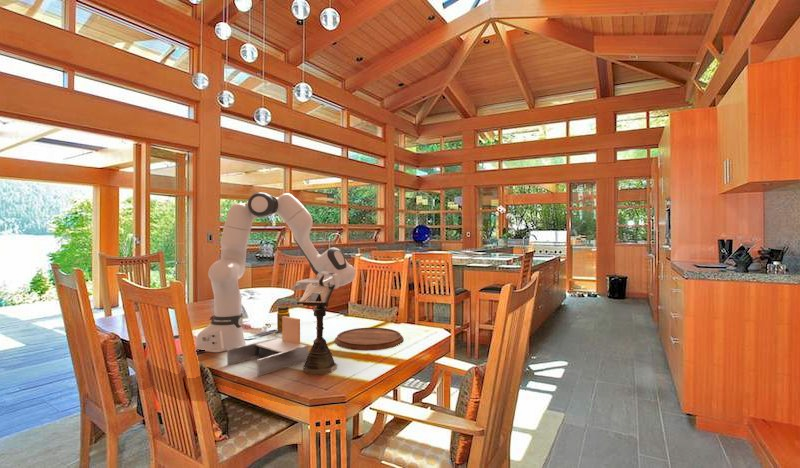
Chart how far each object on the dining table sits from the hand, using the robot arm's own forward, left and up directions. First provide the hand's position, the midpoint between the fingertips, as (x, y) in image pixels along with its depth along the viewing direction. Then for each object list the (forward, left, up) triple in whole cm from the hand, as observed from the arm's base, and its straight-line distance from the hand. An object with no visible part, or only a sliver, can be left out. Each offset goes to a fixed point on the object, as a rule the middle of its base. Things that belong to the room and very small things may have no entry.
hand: (299, 288), depth 168 cm
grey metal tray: (-8, -13, -27) cm, 31 cm away
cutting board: (+25, +22, -27) cm, 43 cm away
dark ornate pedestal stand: (+15, -21, -27) cm, 37 cm away
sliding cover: (-5, -8, -22) cm, 24 cm away
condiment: (-23, +35, -27) cm, 50 cm away
